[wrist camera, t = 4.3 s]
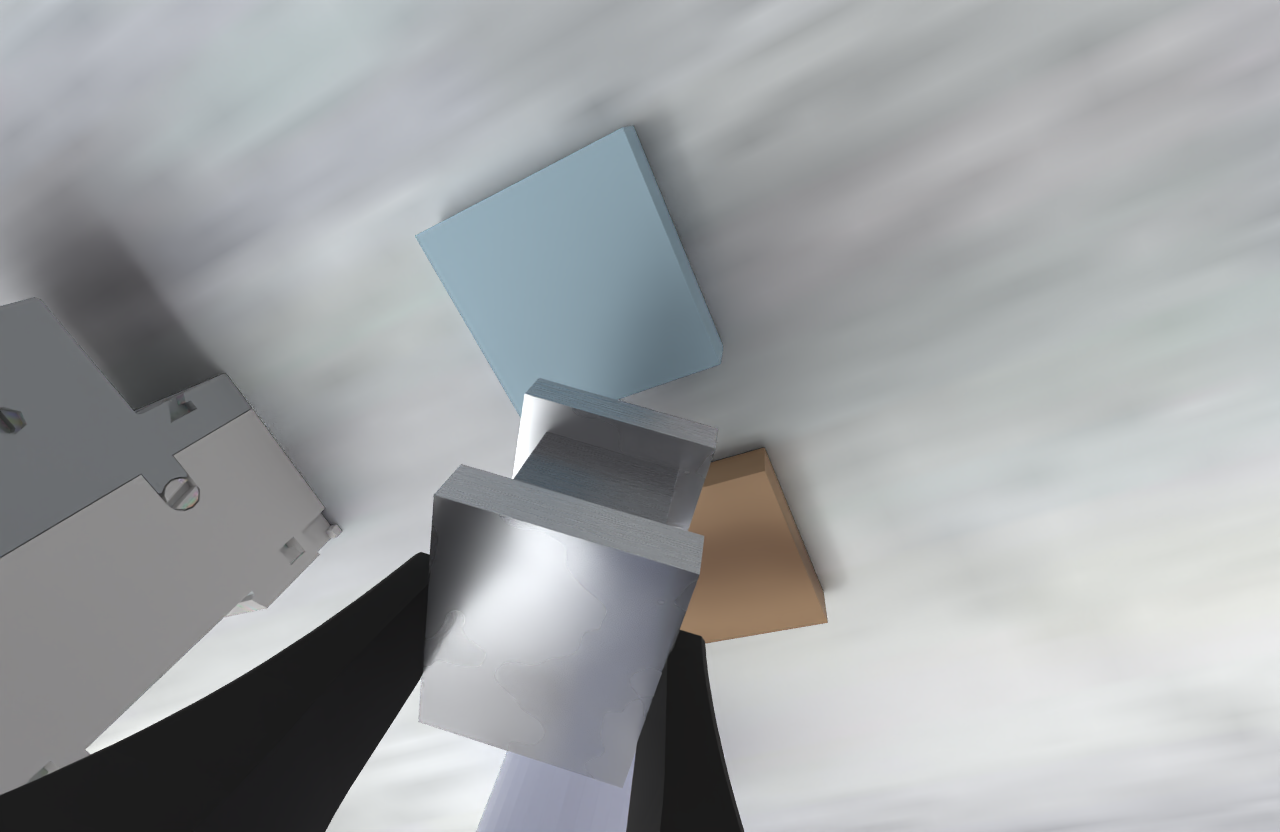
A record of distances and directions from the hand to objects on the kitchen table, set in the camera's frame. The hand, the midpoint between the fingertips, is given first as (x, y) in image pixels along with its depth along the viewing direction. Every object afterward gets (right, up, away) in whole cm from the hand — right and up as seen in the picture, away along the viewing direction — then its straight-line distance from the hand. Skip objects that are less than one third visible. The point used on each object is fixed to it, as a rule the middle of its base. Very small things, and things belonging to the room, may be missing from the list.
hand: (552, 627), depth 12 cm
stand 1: (0, +8, +7) cm, 11 cm away
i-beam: (+1, +2, +4) cm, 4 cm away
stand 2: (+4, -1, +11) cm, 12 cm away
